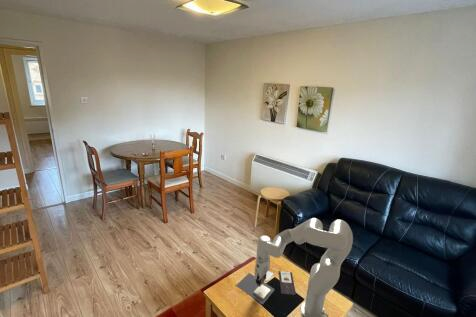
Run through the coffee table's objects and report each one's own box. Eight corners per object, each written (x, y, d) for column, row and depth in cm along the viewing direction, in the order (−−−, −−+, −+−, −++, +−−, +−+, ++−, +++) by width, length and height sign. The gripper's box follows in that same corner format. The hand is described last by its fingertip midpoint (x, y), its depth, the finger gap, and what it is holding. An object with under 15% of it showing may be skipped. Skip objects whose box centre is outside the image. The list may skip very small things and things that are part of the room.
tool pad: (273, 274, 161) (273, 274, 161) (267, 281, 155) (267, 281, 155) (261, 267, 167) (261, 266, 167) (254, 273, 161) (254, 273, 161)
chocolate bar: (281, 293, 146) (278, 271, 163) (281, 294, 147) (278, 272, 164) (296, 294, 146) (291, 272, 163) (295, 296, 146) (291, 273, 163)
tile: (261, 285, 152) (270, 291, 148) (253, 293, 146) (263, 299, 142) (261, 283, 151) (270, 289, 147) (253, 291, 145) (263, 298, 141)
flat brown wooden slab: (264, 282, 147) (265, 268, 144) (259, 287, 144) (260, 273, 141) (261, 280, 149) (262, 267, 145) (256, 285, 145) (257, 272, 142)
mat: (274, 289, 149) (274, 289, 149) (262, 305, 139) (262, 304, 139) (249, 273, 161) (249, 272, 161) (235, 286, 151) (235, 285, 151)
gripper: (260, 267, 131) (257, 293, 137) (276, 251, 144) (273, 275, 150) (249, 260, 136) (247, 286, 141) (265, 246, 148) (263, 269, 154)
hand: (260, 280), depth 145 cm, fingers closed on flat brown wooden slab, 5 cm apart
